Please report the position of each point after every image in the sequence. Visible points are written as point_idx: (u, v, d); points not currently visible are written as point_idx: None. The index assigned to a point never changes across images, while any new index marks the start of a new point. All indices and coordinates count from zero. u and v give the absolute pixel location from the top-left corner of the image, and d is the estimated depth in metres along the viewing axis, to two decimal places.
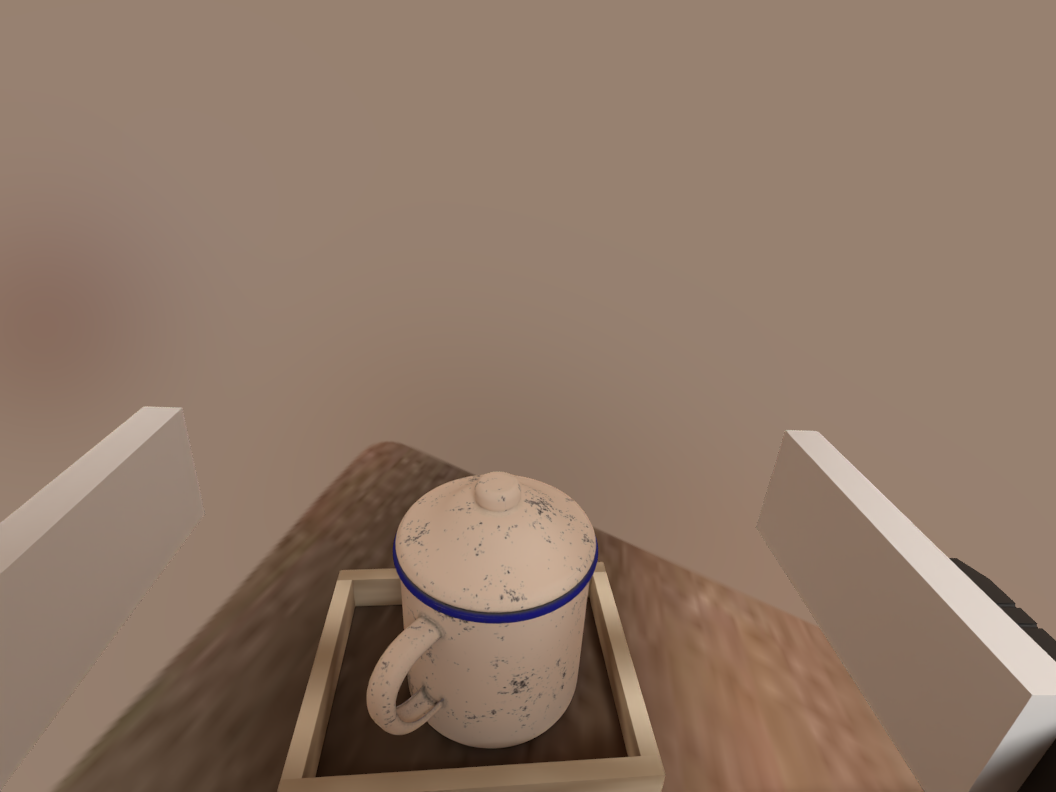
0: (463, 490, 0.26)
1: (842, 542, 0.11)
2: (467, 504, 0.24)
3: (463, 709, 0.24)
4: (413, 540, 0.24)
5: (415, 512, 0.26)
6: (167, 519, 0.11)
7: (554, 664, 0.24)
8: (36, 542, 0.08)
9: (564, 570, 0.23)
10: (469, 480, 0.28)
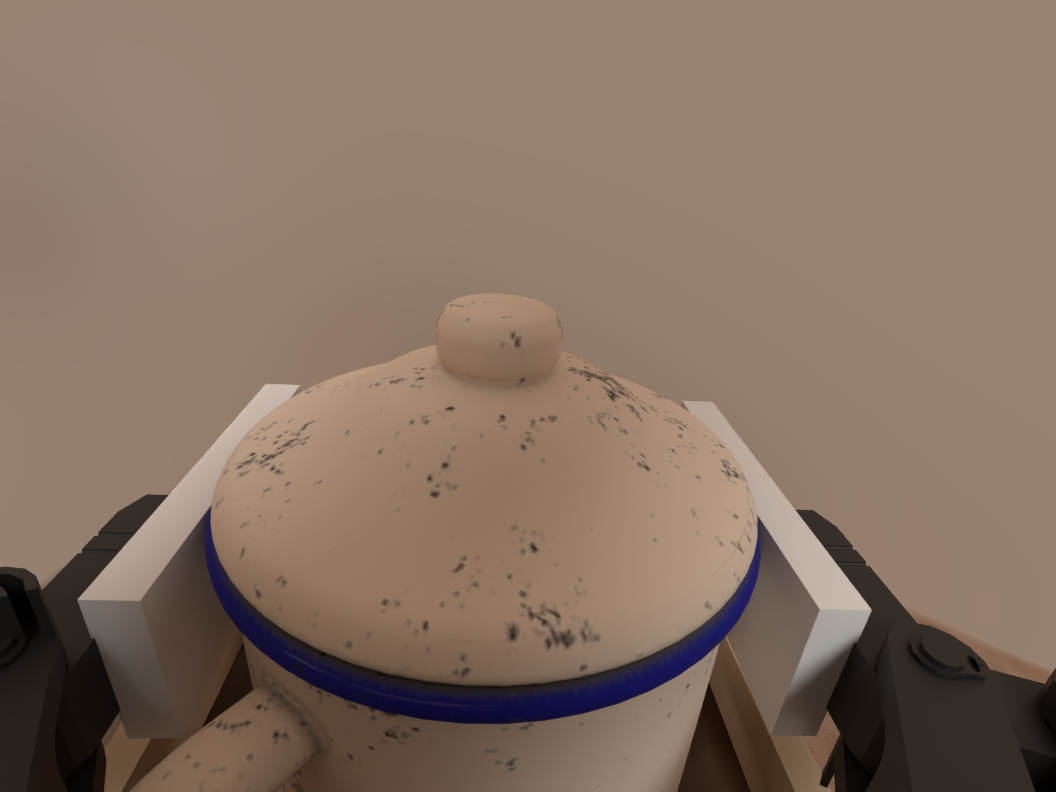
0: (412, 351, 0.10)
1: None
2: (416, 371, 0.09)
3: None
4: (260, 462, 0.09)
5: (289, 407, 0.10)
6: None
7: None
8: None
9: (701, 547, 0.08)
10: None
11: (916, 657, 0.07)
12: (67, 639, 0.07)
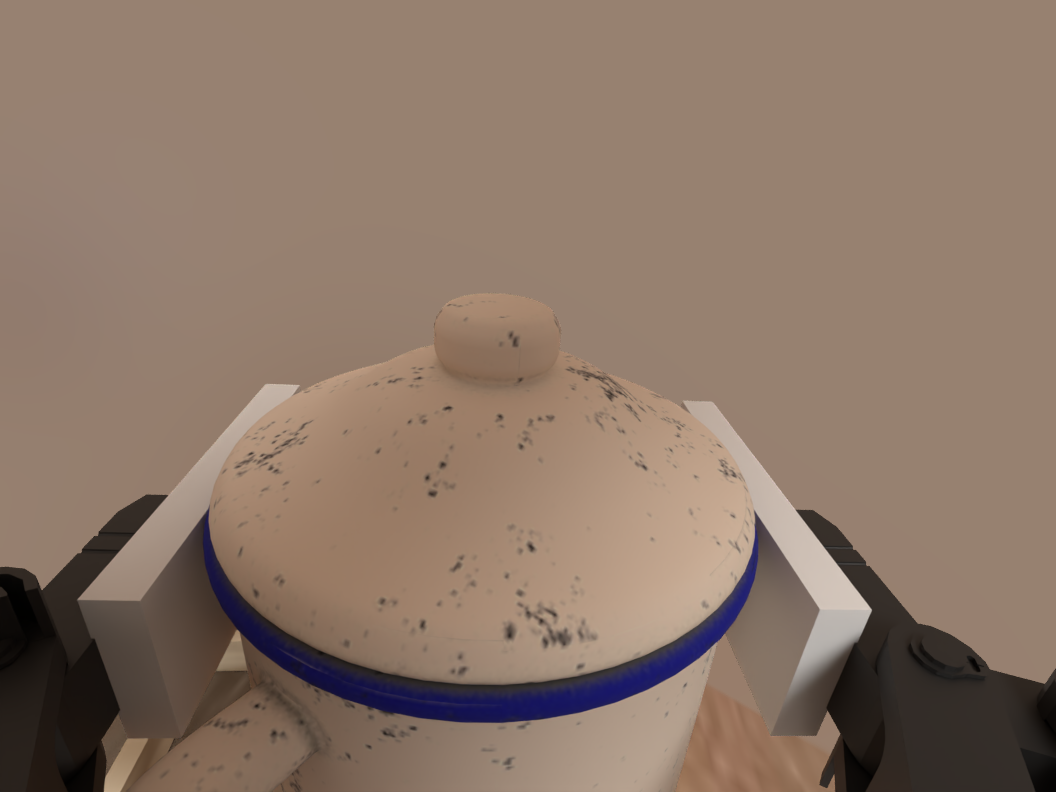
0: None
1: None
2: (415, 370, 0.09)
3: None
4: (259, 462, 0.09)
5: (288, 406, 0.10)
6: None
7: None
8: None
9: (698, 546, 0.08)
10: None
11: (916, 657, 0.07)
12: (67, 638, 0.07)
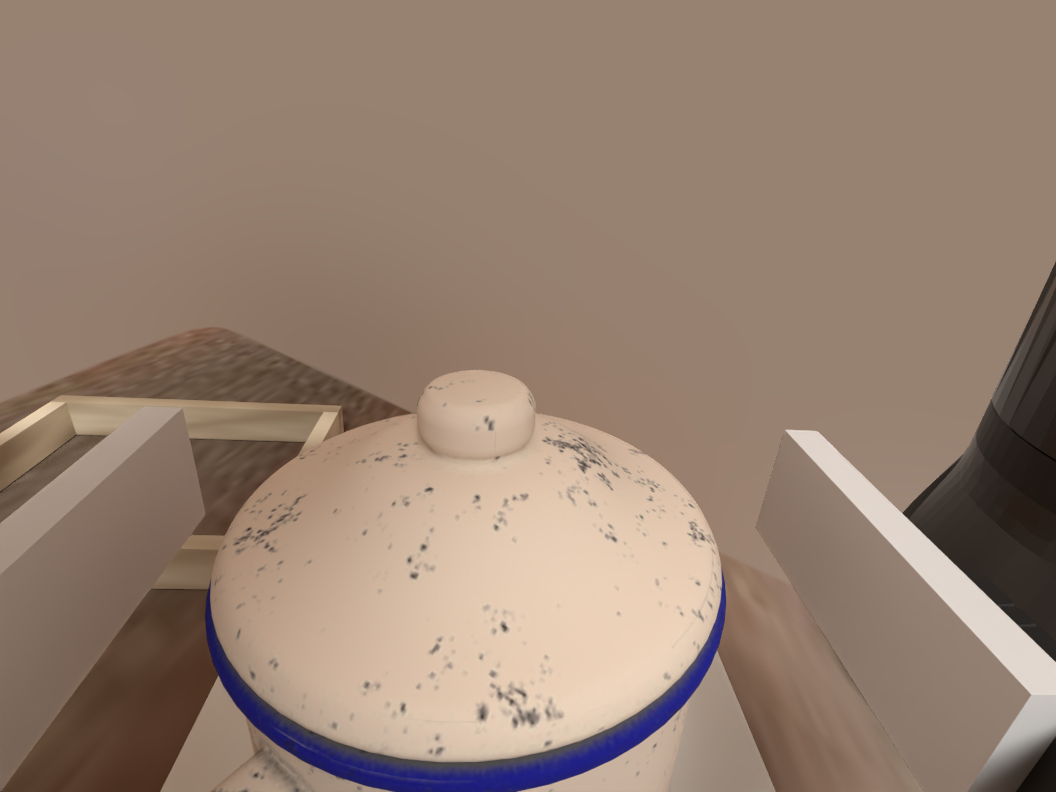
0: (398, 421, 0.11)
1: (841, 542, 0.11)
2: (400, 447, 0.10)
3: None
4: (256, 539, 0.09)
5: (284, 475, 0.11)
6: (168, 519, 0.11)
7: None
8: (37, 542, 0.08)
9: (662, 618, 0.08)
10: None
11: None
12: None
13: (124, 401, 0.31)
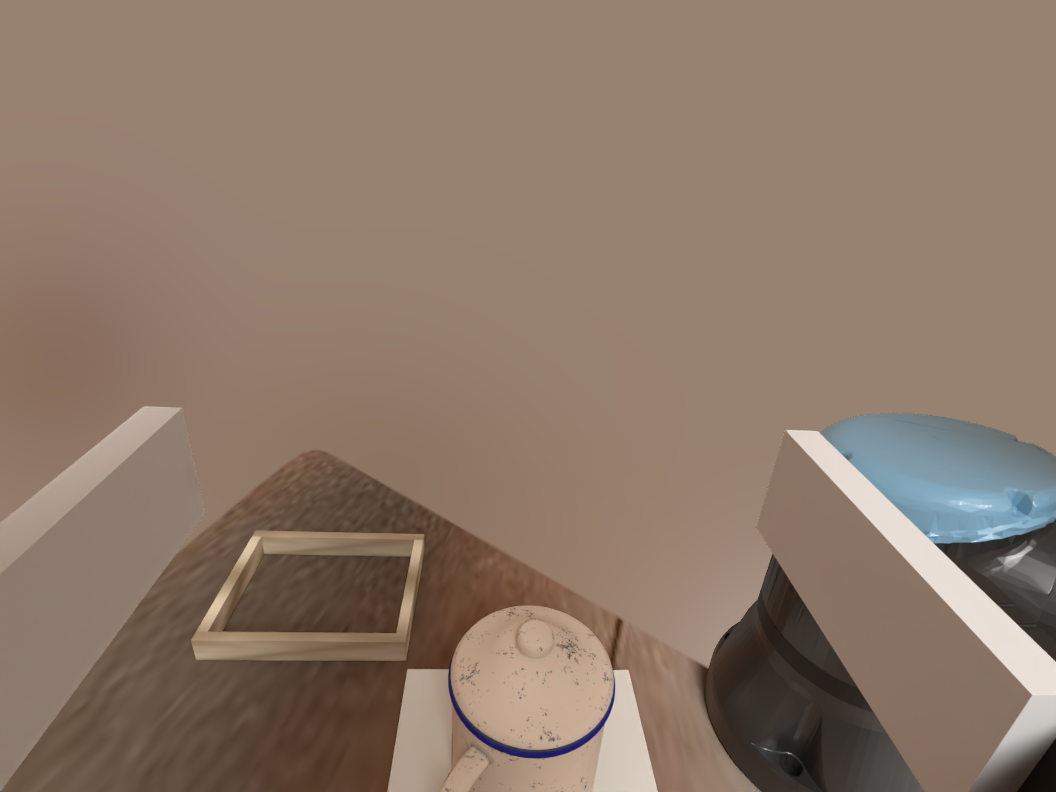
0: (505, 631, 0.31)
1: (842, 541, 0.11)
2: (510, 648, 0.30)
3: None
4: (466, 679, 0.30)
5: (465, 648, 0.31)
6: (167, 519, 0.11)
7: (578, 781, 0.30)
8: (36, 542, 0.08)
9: (589, 710, 0.29)
10: (507, 614, 0.34)
11: None
12: None
13: (294, 534, 0.52)
